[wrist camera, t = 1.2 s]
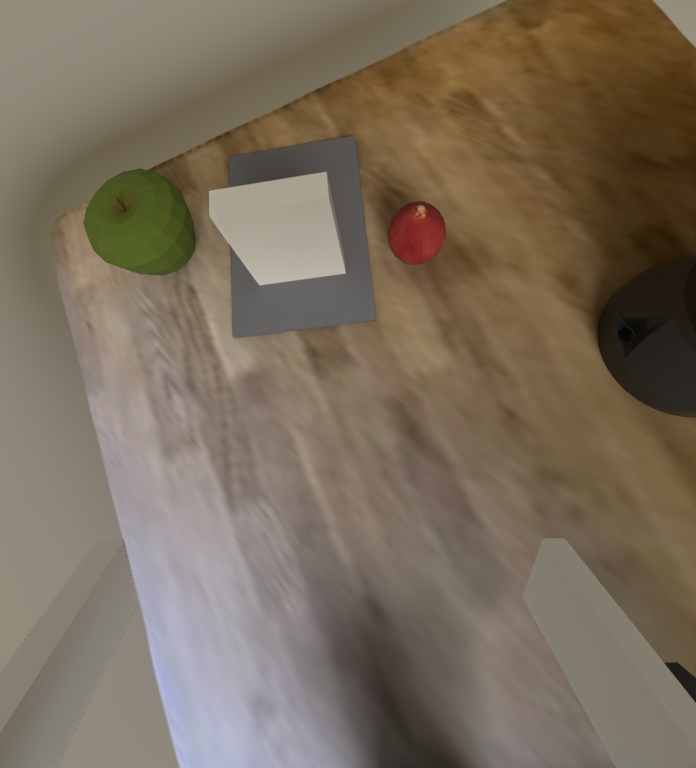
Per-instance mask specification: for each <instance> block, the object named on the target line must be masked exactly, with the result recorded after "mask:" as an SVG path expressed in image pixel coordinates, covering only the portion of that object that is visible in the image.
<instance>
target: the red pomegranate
mask: <svg viewBox="0 0 696 768" xmlns="http://www.w3.org/2000/svg"><path fill="white" fill-rule="evenodd" d="M445 237H446V230H445V222H444V219H443V217H442V216H441V214H440V212H439V211H438V210H437V209H436V208H435V207H434V206H432V205H431V204H428V203H425V202H412V203H410V204H408V205H406V206H404V207H402V208H400V209H399V211H398V212H397V213H396V215H395V216H394V217H393V219H392V220H391V223H390V227H389V230H388V239H389V245H390V248H391V250H392V252H393V253H394V255H395V256H396V257H397V258H398V259H400V260H401V261H403V262H404V263H408V264H411V265H416V264H422V263H424V262H426V261H428V260H430V259H432V258H433V257H434V256H435V255H436V254H437V253H438V252H439V251H440V250H441V248H442V246H443V243H444V241H445Z"/></svg>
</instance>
